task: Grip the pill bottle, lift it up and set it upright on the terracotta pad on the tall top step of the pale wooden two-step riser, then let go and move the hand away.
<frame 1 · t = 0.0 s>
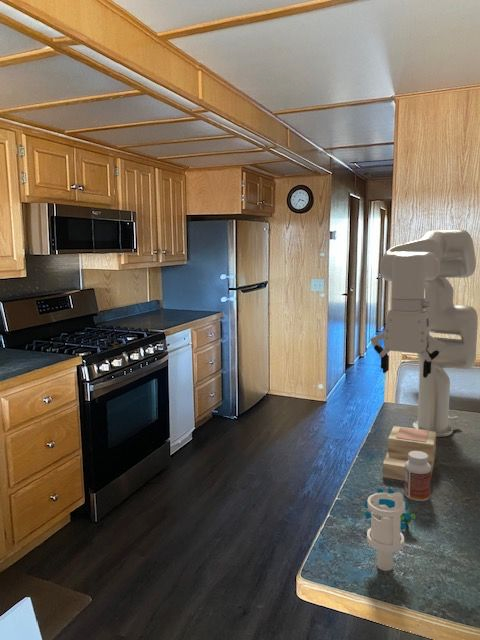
hand: (405, 373, 121), 31 cm above the table, tool pointing down, fingers open, 9 cm apart
pill bottle: (416, 496, 124), on the table
gear: (388, 527, 111), on the table
white flanged pipe fitting: (384, 566, 98), on the table
riser: (409, 466, 139), on the table
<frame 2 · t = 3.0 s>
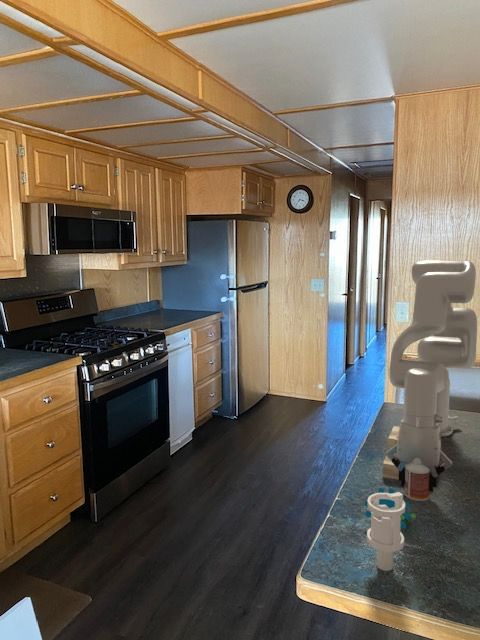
hand: (417, 485, 123), 3 cm above the table, tool pointing down, fingers closed on pill bottle, 6 cm apart
pill bottle: (416, 496, 124), on the table, touching gripper
everything else where it was.
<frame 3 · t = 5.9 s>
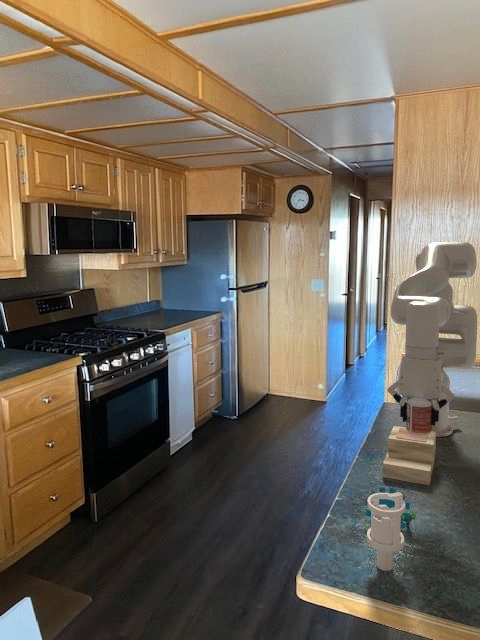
hand: (419, 421, 122), 19 cm above the table, tool pointing down, fingers closed on pill bottle, 6 cm apart
pill bottle: (418, 432, 123), point 16 cm above the table, touching gripper
everything else where it was.
when the fingers open (12 cm above the table, at t = 8.8 s): pill bottle drops 1 cm, resting on riser.
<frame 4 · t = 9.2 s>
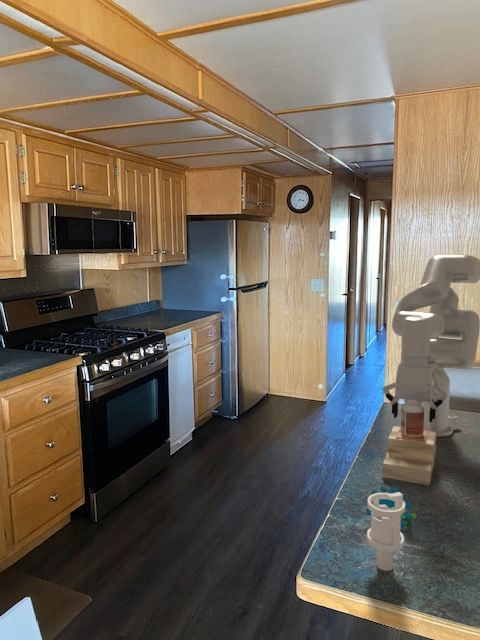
hand: (413, 418, 140), 13 cm above the table, tool pointing down, fingers open, 9 cm apart
pill bottle: (411, 434, 141), point 8 cm above the table, touching riser
everything else where it was.
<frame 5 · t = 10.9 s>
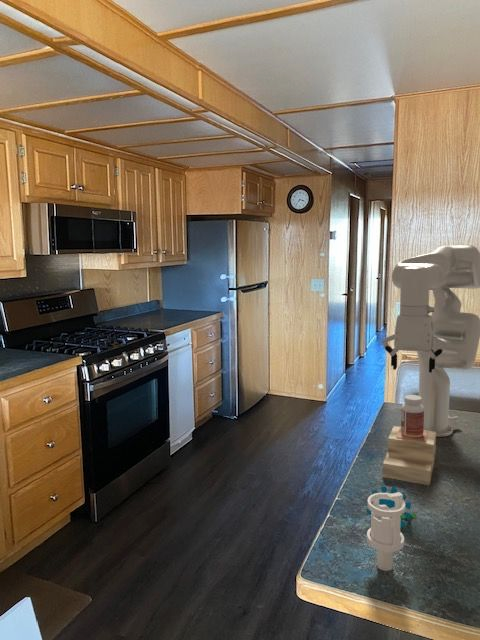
hand: (412, 369, 139), 27 cm above the table, tool pointing down, fingers open, 9 cm apart
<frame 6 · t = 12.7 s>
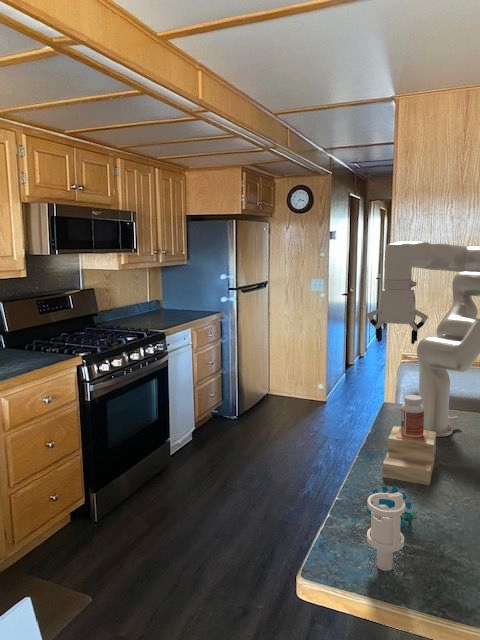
hand: (396, 342, 147), 33 cm above the table, tool pointing down, fingers open, 9 cm apart
at the end: pill bottle inside the target area on the riser (0.3 cm from its centre), point 8.0 cm above the riser's base; pill bottle tilted 0°; the gripper is holding nothing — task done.
